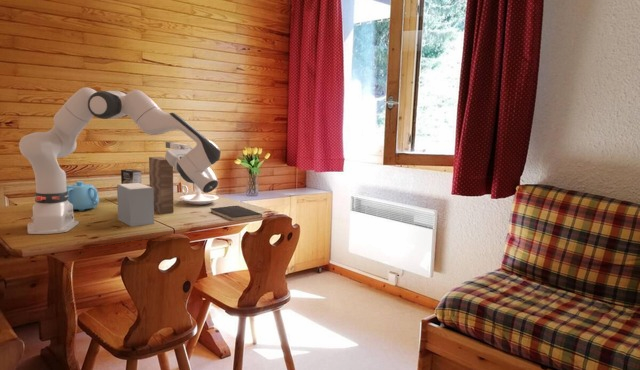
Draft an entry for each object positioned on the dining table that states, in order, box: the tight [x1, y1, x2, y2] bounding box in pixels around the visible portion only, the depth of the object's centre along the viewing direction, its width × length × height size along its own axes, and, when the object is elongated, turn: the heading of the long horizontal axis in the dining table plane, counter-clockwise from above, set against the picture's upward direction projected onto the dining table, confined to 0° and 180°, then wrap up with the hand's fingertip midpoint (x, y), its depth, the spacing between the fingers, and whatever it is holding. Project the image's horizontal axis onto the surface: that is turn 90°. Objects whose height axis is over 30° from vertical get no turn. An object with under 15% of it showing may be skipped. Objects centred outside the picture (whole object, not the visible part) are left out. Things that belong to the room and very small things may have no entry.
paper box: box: [116, 182, 155, 227], centre depth 207 cm, size 16×10×16 cm, turn 41°
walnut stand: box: [148, 156, 175, 215], centre depth 230 cm, size 14×6×26 cm, turn 41°
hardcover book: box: [209, 205, 263, 222], centre depth 230 cm, size 16×23×2 cm
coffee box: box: [120, 168, 142, 184], centre depth 257 cm, size 9×6×16 cm
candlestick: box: [178, 183, 220, 205], centre depth 253 cm, size 21×25×28 cm
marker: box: [165, 141, 191, 150], centre depth 212 cm, size 20×3×3 cm, turn 41°
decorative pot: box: [66, 180, 100, 212], centre depth 229 cm, size 16×16×14 cm
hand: (183, 146), depth 208 cm, fingers closed on marker, 3 cm apart
